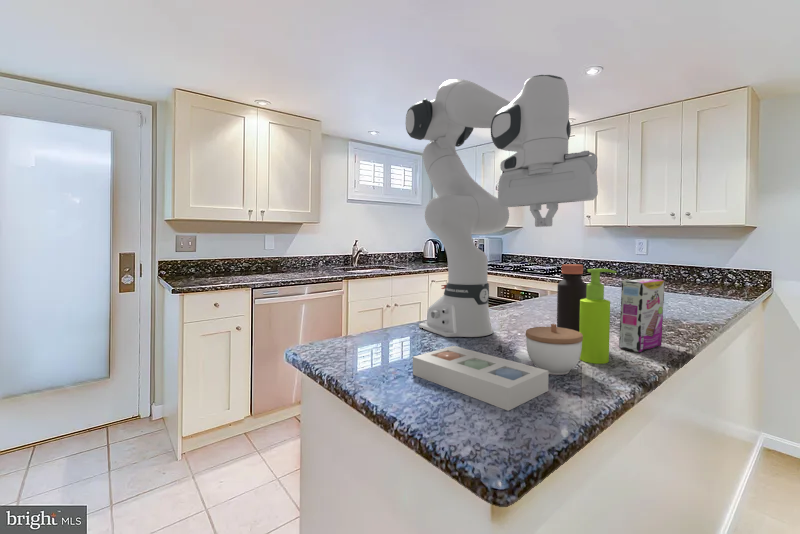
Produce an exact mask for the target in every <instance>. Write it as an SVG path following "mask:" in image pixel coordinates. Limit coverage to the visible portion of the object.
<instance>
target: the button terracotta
mask: <svg viewBox="0 0 800 534" xmlns="http://www.w3.org/2000/svg"><path fill="white" fill-rule="evenodd" d="M437 357H438V358H442V359H445V360H448V361H451V360H454V359H457V358H460V355H459V354H457V353H454V352H442V353H439V354H438V355H437Z"/></svg>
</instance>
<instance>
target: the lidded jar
mask: <svg viewBox="0 0 800 534" xmlns="http://www.w3.org/2000/svg"><path fill="white" fill-rule="evenodd" d="M525 338H526V339H525V343H526V351H527V355H528V358H529V359H530V361H531V363H532V364H533V365H534V367H537V368H540V369H544V370H548V371H549V373H548V375H553V376H565V375H567V374H569V373H570V371H572V370H573V369H574V368H575V367H576V366H577V364H578V363H579V362H580V356H581V351H582V340H583V335H582V333H580V332H578V331H575V330H572V329H567V328H560V327H557V323H556V324H555V323H551V324H550V326H536V327H535V326H534V327H530V328H527V329H526V330H525Z"/></svg>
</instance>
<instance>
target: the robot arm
mask: <svg viewBox="0 0 800 534" xmlns="http://www.w3.org/2000/svg"><path fill="white" fill-rule="evenodd" d="M437 89H438V90H437V91H436V94H435V95H436V96H435V99H433V100H429V99H428V98H424V99H423V100H421V101H419V102H417V103H413V104H412V105H411V106H410V107H409V108H408V110H407V112H406V115H405V130H406V132H407V134H408V136H409V137H410V138H411V139H415V140H417V141H422V140H425V141H429V143H428V144H426V145H425V147H424V149H423V152H422V157H423V158H422V159H423V164H424V167H425V171H426V174H427V175H428V178H429V180H430V182H431V183H430V184H431V185H432V187H433V189H434V191H435V194H436V195H437V196H435V197H432V198H431V199H430V200H429V201H428V203H427V205H426V207H425V210H424V219H425V223H426V226H427V227H428V228H429V230H430V231H431V232H433V233H434V234H435V235H436V236H437V238H438V239H439V240H440V242H441V244H442V245H443V248H444V249H445V254H446V258H447V271H448V273H447V275H448V276H447V277H448V280H447V281H448V282H447V283H446V284H441V289H442V290H444V291H443V295H442V296H440V298H439V299H438V300H436V301H435V302H434V303H432V304H431V305H430V306H429V307H428V309H427V313H426V321H422V322H420V323H419V324H418V328H420V329H422V328H423V330H426V331H428V332H430V333H434V334H438V335H439V336H442V337H446V338H457V337H462V338H463V337H465V338H478V337H485V336H489V335H491V334H493V333H494V330H493V325H492V322H491V317H490V309H489V297H490V283H489V282H488V255H487V254H486V253H485V252H484V251H483V250H481V249H480V248H478V247H477V246H476V245H475V242H474V240H473V238H472V237H473V236H472V235H489V234H495V233H499V232H501V231H503V230H504V229H505V227H506V226H507V224H508V223H509V220H510V219H509V218H510V210H509V208H517V207H518V208H519V207H528V206H529V211H530V213H531V215H532V217H533V218H534V226H535V227H536V228H541V227H543V228H544V227H552V226H553V218H554V217H555V215H556V214H557V212H558V210H559V204H565V203H577V202H587V201H589V202H590V201H594V200H595V199H596V198H597V196H598V192H599V189H598V177H597V172H596V171H597V169H598V156H597V155H596V154H595V153H594V152H591V151H590V150H582V151H580V152H571V153H569V140H570V137H571V130H572V128H571V123H570V122H571V121H570V101H569V100H570V99H569V98H570V97H569V90H568V85H567V82H566V80H565V79H564V78H563V77H561V76H557V75H552V74H539V75H538V74H537V75H534V76H531V77H530V78H528V79H527V80H526V81H525V82H524V84H523V88H522V89H521V91H520V93H519V94H518V95H517V96H516V97H515V98H514V99H513V100H512V101H509V100H507V99H506V98H503V97H501V96H500V95H498V94H496V93H494V92H492V91H490V90H489V89H487V88H485V87H483V86H481V85H479V84H478V83H475V82H473V81H471V80H465V79H460V78H454V79H448V80H446V81H444V82H442V84H441V85H440V86H439V87H438V88H437ZM474 129H490V137H491V141H492V143H493V145H494V146H495V147H496V148H497V149H498V150H501V151H506V152H515V153H514V154H512V155H511V156H508V157H507V158H505V159H504V160H503V159H502V161H501V162H500V165H499V166H500V171H502V172H503V173H501V175H500V176H499V179H498V188H497V189H498V190H497V197H496V196H494V195H493V194H492V193H490V192H488V191H487V190H486V189H484V188H483V186H481V185H480V184H479V183H478V182H476V181H475V179H473V178H472V176H471V174H470V173H469V172H468V170H467V169H466V167H465V165H464V163H463V161H462V160H461V157H460V156H459V154H458V153H457V151H456V150H457V149H456V147H458V148H459V147H461V146H463V145H464V143H465V141H466V140H468V138H469V137H470V136H471V134H472V133H473V131H474ZM542 205H543V206H544V205H546V210H547V209H548V210H547V213H546V214H545V217H543V216H542V214H541V212H540V211H541V210H542Z"/></svg>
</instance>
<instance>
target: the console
mask: <svg viewBox="0 0 800 534" xmlns="http://www.w3.org/2000/svg"><path fill="white" fill-rule="evenodd" d="M442 352H454V353H457V354H459V355H460V358H457V359H454V360H451V361H448V360H445V359H442V358H438V357H437V355H438V354H439V353H442ZM467 360H483V361H486V362H488V364H489V366H488V367H486V368H483V369H480V370H478V369H474V368H471V367H468V366H464V362H465V361H467ZM503 368H509V369H515V370H519V371H520V372H522V377H520V378H518V379H515V380H510V379H507V378H504V377H500V376H497V375H496V370H498V369H503ZM548 373H549V371H548V370H544V369H540V368H537V367H536V366H532V365H528V364H525V363H521V362H517V361H513V360H509V359H505V358H501V357H499V356H494V355H491V354H487V353H482V352H480V351H475V350H472V349H467V348H463V347H459V346H456V345H452V346H447V347H443V348H440V349H436V350H433V351H428V352H426V353H422V354H419V355H414V356H412V375H413V376H415V377H418V378H421V379H423V380H425V381H429V382H431V383H434V384H436V385H439V386H442V387H445V388H447V389H449V390H453V391H454V392H458V393H460V394H464V395H465V396H468V397H471V398H474V399H476V400H479V401H481V402H484V403H486V404H489V405H492V406H493V407H494V406H495V407H497V408H500V409H502V410H506V411H507V412H508V411H511V410H513V409H515V408H517V407H519V406H521V405H523V404H525V403H527V402H529V401H530V400H533V399H534V398H536V397H539V396H541V395H543V394H544V393H546V392H549V374H548Z"/></svg>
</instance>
